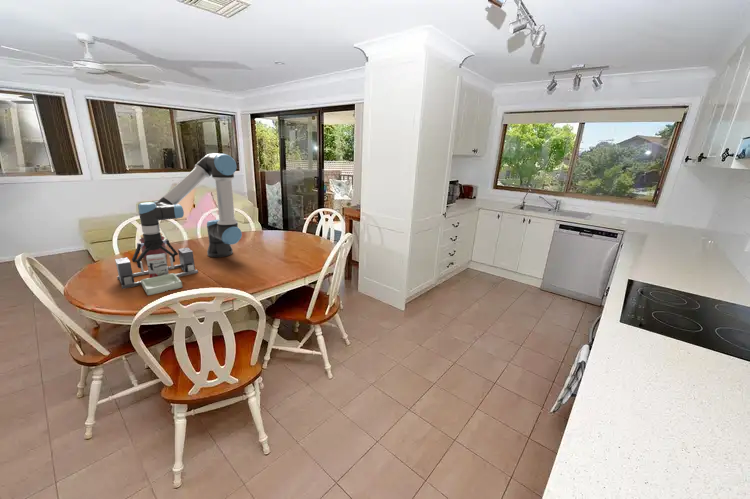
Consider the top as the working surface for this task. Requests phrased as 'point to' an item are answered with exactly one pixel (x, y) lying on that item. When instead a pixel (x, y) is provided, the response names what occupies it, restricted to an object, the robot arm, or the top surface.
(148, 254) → the canister
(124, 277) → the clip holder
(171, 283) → the tray
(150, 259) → the ink box
